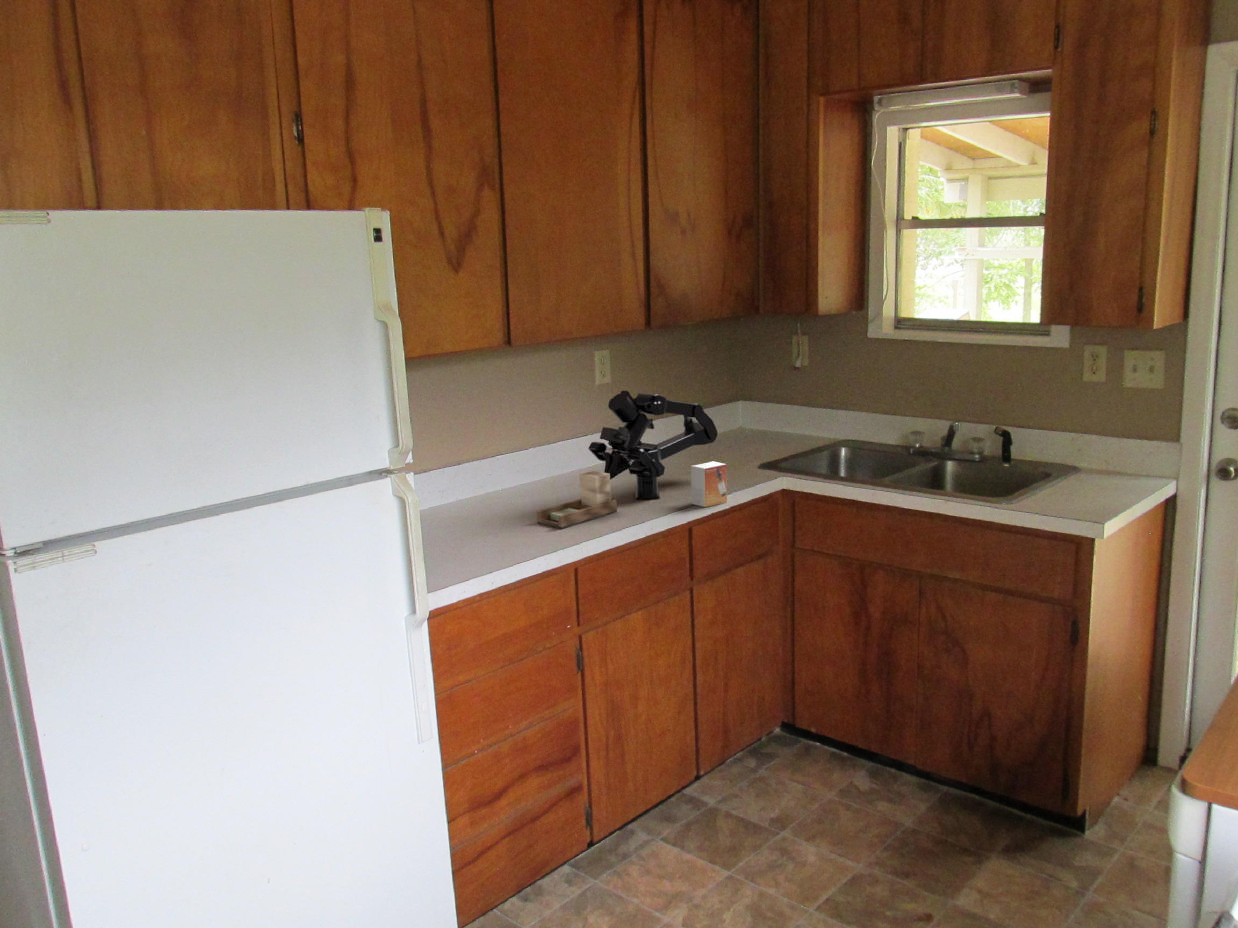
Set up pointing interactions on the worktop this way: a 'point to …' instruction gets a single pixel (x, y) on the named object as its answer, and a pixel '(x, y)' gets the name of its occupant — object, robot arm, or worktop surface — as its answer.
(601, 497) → the block
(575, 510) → the track
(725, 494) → the small box
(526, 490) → the worktop surface
